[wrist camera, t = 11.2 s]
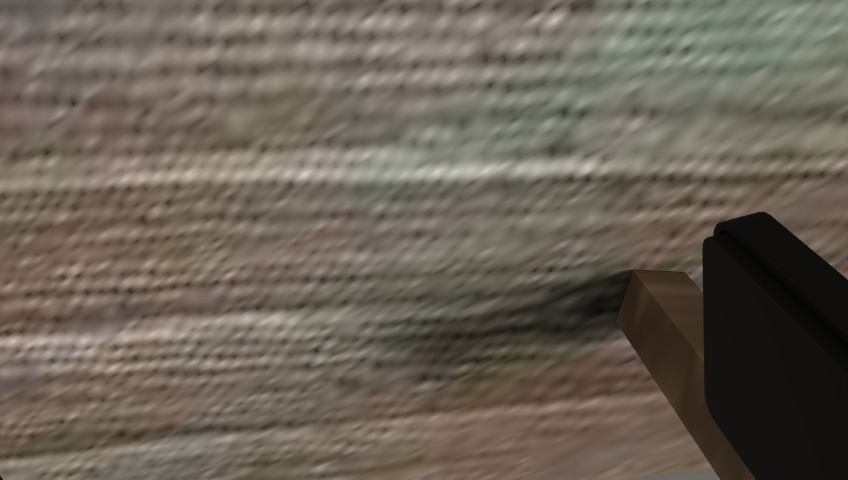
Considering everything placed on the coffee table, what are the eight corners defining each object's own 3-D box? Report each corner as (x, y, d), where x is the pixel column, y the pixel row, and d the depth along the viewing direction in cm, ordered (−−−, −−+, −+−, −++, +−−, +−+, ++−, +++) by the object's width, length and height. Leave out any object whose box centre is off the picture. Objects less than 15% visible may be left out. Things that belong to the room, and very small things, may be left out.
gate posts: (812, -309, 25) (1245, -397, 14) (897, -288, 25) (1372, -356, 14) (608, 326, 36) (755, 556, 25) (670, 328, 37) (839, 553, 26)
